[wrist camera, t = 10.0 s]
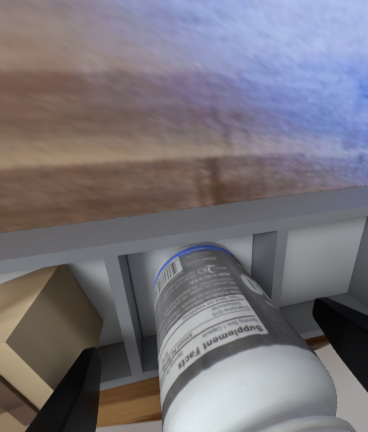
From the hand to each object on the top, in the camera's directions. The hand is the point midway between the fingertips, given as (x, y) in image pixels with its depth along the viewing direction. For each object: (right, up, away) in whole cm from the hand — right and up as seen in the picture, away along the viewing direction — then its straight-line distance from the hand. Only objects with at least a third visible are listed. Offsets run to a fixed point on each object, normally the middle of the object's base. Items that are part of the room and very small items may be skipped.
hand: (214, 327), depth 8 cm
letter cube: (-8, 0, +2) cm, 8 cm away
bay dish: (-1, +1, +4) cm, 4 cm away
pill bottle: (-1, +1, +3) cm, 3 cm away
